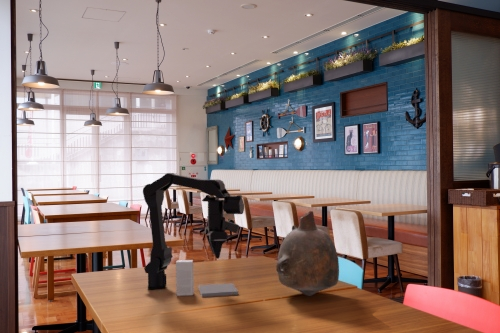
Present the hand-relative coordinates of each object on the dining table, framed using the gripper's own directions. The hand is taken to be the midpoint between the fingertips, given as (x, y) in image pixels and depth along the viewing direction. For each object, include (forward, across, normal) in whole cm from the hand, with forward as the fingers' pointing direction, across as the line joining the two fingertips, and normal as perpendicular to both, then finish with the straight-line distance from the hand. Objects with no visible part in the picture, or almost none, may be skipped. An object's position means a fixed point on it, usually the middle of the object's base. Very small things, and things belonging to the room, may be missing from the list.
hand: (216, 256), depth 181 cm
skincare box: (+13, -2, +12) cm, 18 cm away
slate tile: (+13, -1, 0) cm, 13 cm away
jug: (+13, -15, -30) cm, 36 cm away
